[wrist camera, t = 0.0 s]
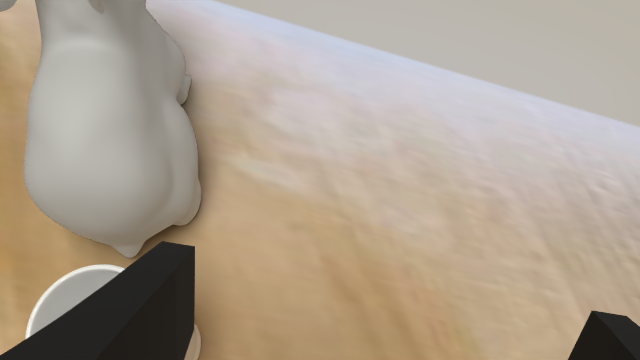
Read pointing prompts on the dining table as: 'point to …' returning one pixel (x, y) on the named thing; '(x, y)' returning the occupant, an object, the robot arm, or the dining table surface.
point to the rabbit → (110, 124)
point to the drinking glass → (76, 290)
